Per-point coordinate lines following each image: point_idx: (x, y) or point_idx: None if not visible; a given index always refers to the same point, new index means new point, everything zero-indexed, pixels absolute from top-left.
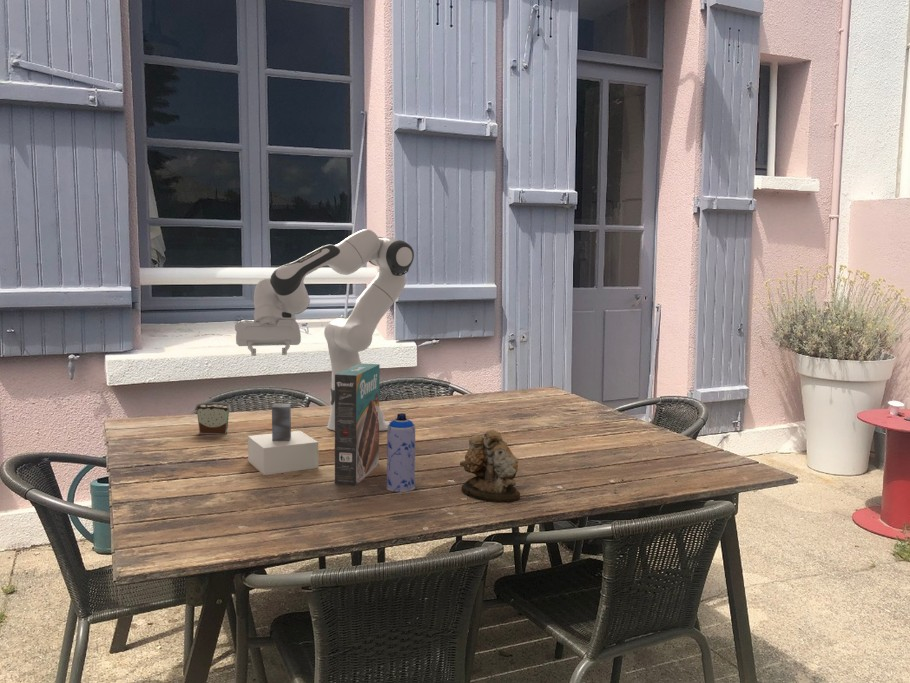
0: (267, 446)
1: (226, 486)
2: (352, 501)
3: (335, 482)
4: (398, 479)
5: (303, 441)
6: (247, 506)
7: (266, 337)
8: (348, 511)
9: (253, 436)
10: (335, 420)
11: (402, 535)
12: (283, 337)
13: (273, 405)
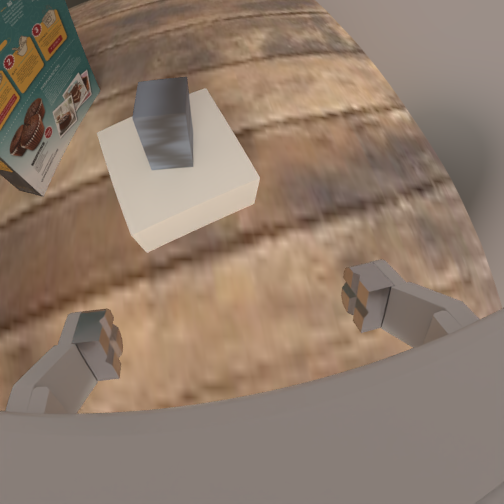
0: (199, 97)
1: (256, 77)
2: (95, 46)
3: (98, 89)
4: None
5: (125, 134)
6: (213, 27)
7: (305, 405)
8: (106, 27)
9: (244, 173)
10: (70, 19)
11: (81, 4)
12: (40, 429)
13: (183, 94)
